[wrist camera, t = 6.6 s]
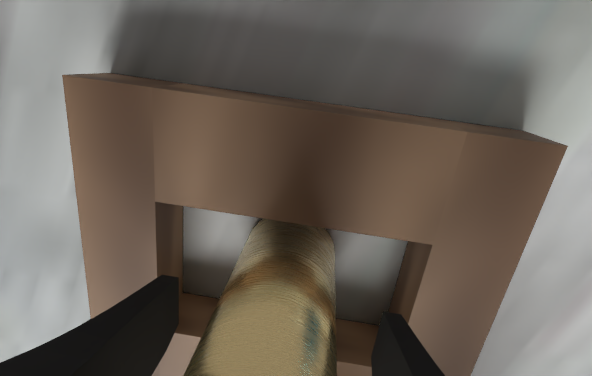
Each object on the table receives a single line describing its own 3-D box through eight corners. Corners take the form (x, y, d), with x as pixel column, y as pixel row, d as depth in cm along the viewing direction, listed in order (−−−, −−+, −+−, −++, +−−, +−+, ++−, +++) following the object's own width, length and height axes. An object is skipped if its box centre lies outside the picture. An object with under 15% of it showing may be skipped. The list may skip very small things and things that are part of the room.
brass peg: (248, 284, 16) (176, 476, 9) (246, 208, 15) (159, 359, 7) (331, 291, 16) (332, 497, 8) (337, 215, 14) (344, 379, 7)
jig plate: (128, 344, 18) (98, 385, 16) (109, 72, 13) (62, 75, 11) (425, 396, 17) (439, 447, 15) (523, 130, 12) (567, 146, 10)
